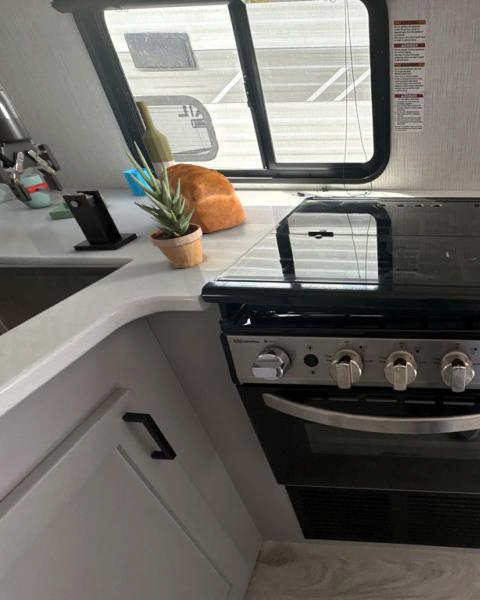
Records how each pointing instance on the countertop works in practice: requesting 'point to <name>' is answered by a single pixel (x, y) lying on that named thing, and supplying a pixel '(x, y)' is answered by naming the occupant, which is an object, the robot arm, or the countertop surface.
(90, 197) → the lever
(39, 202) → the cup
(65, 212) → the button block
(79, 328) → the countertop surface
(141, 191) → the mug
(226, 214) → the bread
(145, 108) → the bottle
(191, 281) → the countertop surface
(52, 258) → the countertop surface
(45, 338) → the countertop surface
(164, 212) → the potted plant
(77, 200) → the bracket
